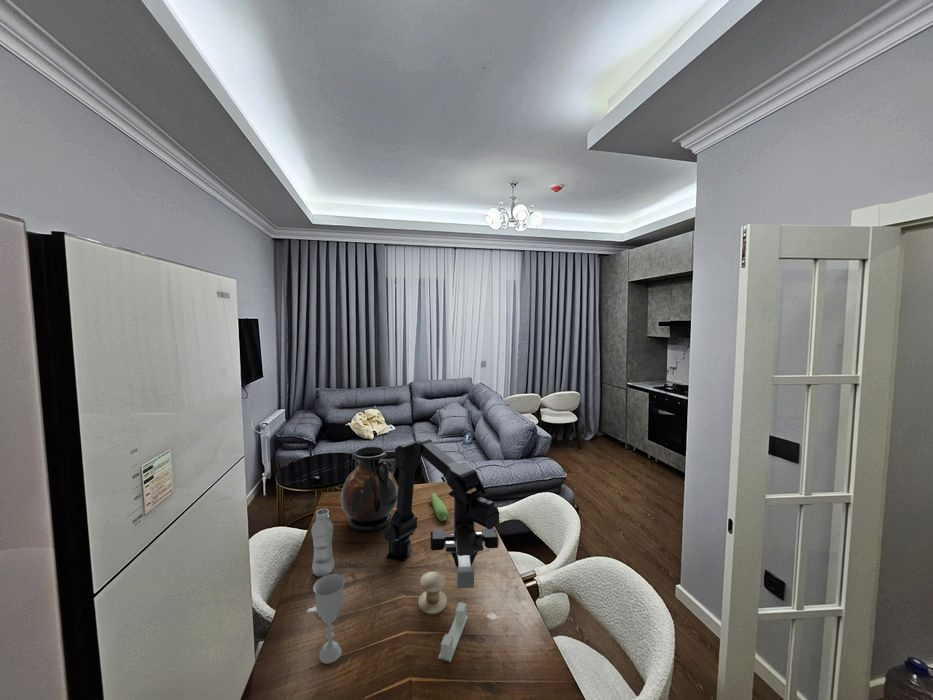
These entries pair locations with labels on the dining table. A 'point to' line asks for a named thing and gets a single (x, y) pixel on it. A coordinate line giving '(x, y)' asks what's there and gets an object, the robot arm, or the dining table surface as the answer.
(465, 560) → the mallet
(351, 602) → the dining table surface
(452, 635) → the notched board
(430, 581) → the bobbin
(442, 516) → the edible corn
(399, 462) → the robot arm
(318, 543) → the plastic bottle
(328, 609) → the chalice
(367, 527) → the amphora vase
